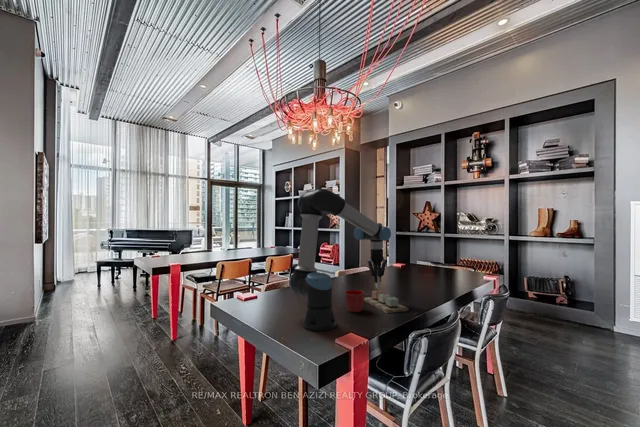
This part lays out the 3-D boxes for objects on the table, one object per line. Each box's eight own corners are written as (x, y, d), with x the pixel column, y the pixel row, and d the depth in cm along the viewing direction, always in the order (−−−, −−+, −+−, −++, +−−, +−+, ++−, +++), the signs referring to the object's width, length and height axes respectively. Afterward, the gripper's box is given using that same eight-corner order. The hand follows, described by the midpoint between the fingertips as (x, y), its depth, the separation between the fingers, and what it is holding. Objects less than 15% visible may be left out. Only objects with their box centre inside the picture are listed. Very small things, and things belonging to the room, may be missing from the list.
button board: (408, 310, 153) (408, 307, 153) (386, 313, 149) (386, 310, 149) (382, 298, 178) (382, 296, 178) (363, 300, 174) (363, 297, 174)
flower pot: (341, 311, 152) (341, 293, 153) (349, 306, 162) (349, 289, 162) (360, 314, 147) (360, 295, 148) (367, 308, 157) (367, 290, 157)
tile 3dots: (383, 298, 170) (383, 291, 170) (375, 299, 168) (375, 292, 168) (379, 296, 174) (379, 290, 174) (371, 297, 173) (371, 290, 173)
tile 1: (390, 301, 162) (390, 295, 162) (382, 302, 160) (382, 295, 161) (386, 299, 167) (385, 293, 167) (378, 300, 165) (378, 293, 165)
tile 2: (398, 305, 154) (398, 298, 154) (390, 306, 153) (390, 299, 153) (393, 303, 159) (393, 296, 159) (385, 304, 158) (385, 297, 158)
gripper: (383, 247, 178) (384, 285, 177) (364, 248, 174) (365, 287, 173) (389, 248, 171) (390, 288, 170) (369, 249, 167) (370, 290, 166)
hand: (377, 287), depth 172 cm, fingers closed
